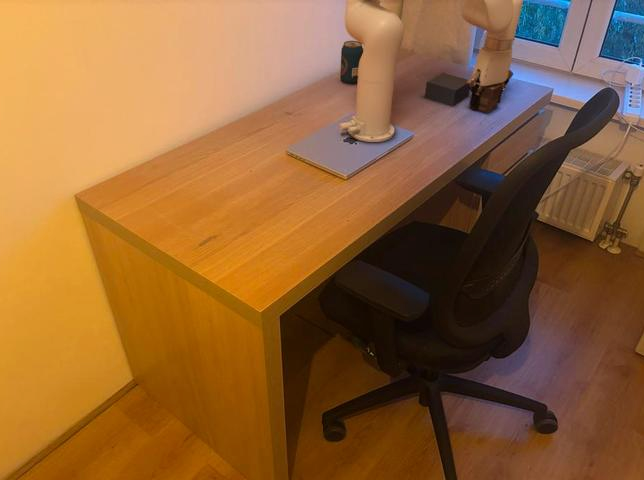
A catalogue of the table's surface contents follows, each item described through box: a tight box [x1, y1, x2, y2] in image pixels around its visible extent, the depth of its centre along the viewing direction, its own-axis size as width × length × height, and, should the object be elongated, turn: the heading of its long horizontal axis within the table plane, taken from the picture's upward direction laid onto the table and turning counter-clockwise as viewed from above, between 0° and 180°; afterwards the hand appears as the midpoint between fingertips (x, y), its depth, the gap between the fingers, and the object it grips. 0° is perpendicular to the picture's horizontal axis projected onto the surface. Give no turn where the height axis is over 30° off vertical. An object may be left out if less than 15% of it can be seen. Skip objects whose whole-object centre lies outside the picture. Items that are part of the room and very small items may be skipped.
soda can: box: [339, 40, 364, 86], centre depth 171 cm, size 7×7×12 cm
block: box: [424, 72, 471, 107], centre depth 165 cm, size 10×10×5 cm
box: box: [470, 82, 502, 114], centre depth 159 cm, size 6×6×7 cm
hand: (484, 103), depth 160 cm, fingers closed on box, 7 cm apart
